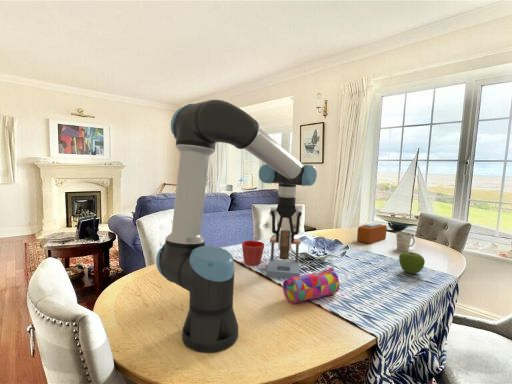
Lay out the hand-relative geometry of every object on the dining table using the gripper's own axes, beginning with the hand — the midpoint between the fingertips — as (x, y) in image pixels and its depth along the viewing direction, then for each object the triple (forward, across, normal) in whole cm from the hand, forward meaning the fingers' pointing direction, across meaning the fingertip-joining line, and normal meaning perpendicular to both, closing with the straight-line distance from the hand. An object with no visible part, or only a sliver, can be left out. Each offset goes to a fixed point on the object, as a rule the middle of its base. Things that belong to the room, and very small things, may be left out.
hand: (284, 249), depth 123 cm
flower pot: (+11, +15, -11) cm, 22 cm away
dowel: (+4, 0, 0) cm, 4 cm away
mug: (+12, -72, -57) cm, 92 cm away
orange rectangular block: (+12, -57, -74) cm, 94 cm away
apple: (+12, -58, -15) cm, 61 cm away
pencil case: (+11, -11, +20) cm, 25 cm away
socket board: (+11, 0, -3) cm, 12 cm away
